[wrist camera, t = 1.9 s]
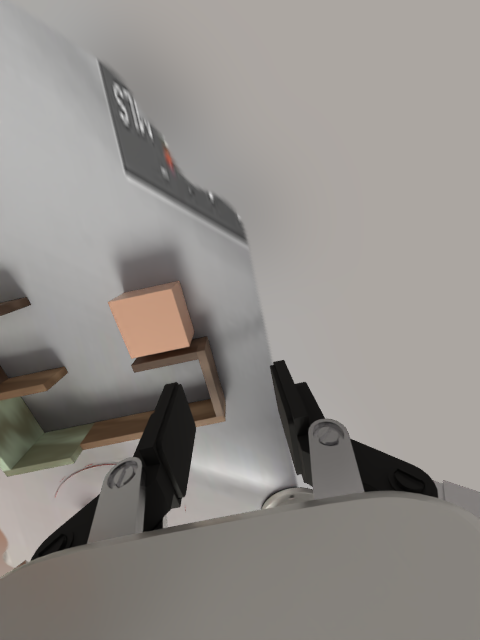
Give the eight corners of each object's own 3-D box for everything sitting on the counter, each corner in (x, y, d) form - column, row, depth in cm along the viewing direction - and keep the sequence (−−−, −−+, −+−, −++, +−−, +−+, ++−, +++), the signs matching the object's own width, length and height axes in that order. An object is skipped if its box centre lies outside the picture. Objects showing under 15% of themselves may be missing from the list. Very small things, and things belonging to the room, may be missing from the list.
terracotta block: (194, 331, 32) (189, 346, 28) (144, 341, 32) (131, 358, 28) (179, 280, 29) (171, 288, 25) (124, 292, 30) (107, 302, 25)
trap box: (225, 401, 36) (225, 433, 30) (41, 439, 37) (7, 476, 31) (186, 261, 28) (176, 269, 23) (-44, 312, 29) (-108, 331, 24)
